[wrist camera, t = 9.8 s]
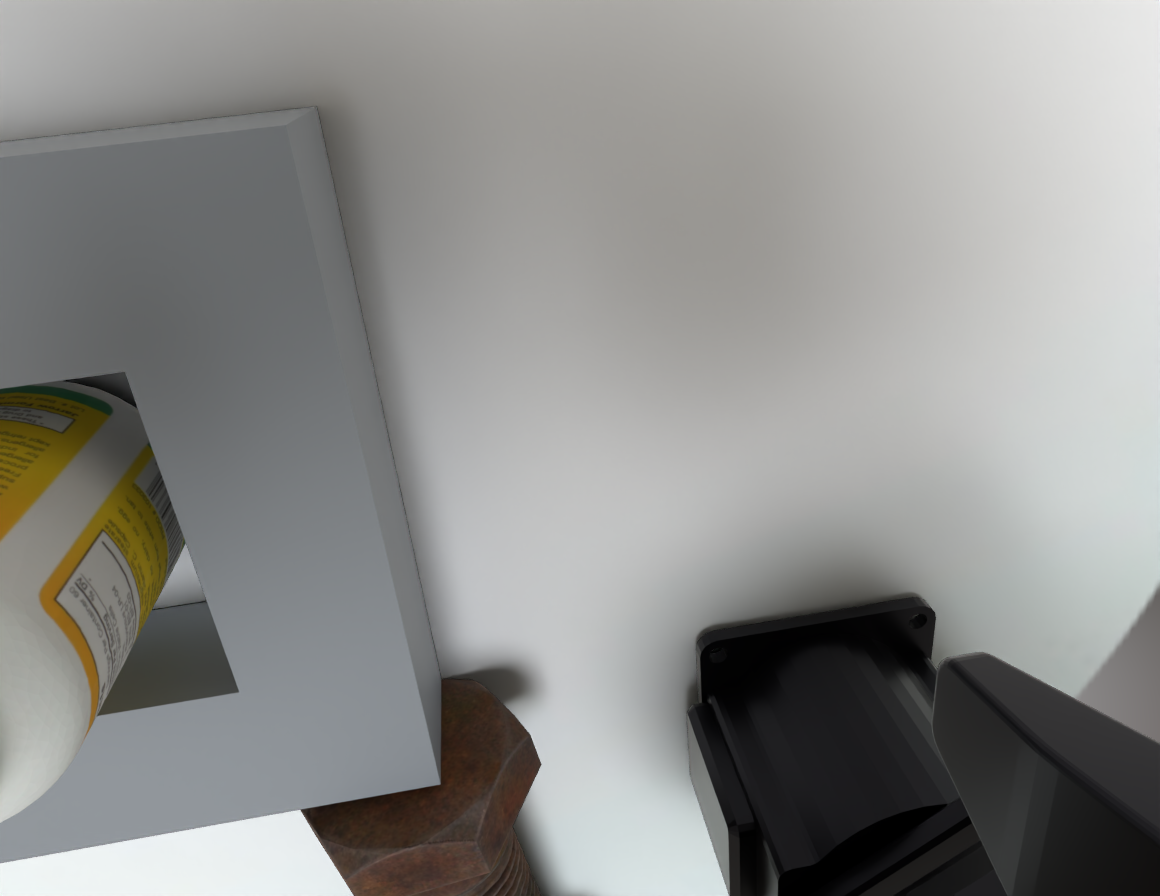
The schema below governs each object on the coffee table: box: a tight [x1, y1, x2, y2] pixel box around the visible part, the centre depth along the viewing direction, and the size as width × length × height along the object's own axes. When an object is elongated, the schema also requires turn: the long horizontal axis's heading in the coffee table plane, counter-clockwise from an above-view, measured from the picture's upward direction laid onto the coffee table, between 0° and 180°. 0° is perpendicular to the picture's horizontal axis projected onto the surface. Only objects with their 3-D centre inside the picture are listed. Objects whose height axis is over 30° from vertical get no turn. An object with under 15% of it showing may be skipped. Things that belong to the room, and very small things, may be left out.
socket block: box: [0, 106, 441, 863], centre depth 17 cm, size 14×14×4 cm
